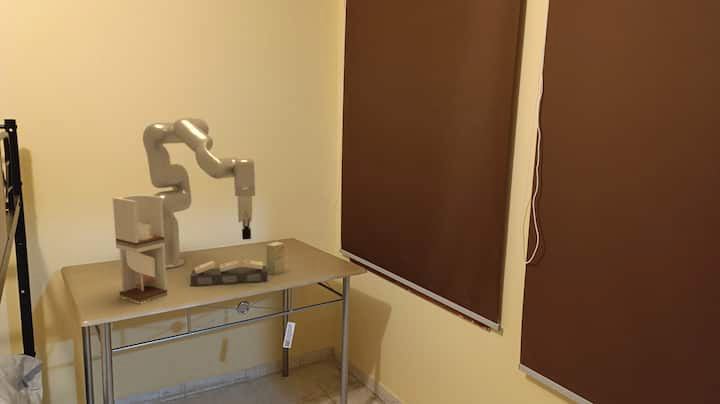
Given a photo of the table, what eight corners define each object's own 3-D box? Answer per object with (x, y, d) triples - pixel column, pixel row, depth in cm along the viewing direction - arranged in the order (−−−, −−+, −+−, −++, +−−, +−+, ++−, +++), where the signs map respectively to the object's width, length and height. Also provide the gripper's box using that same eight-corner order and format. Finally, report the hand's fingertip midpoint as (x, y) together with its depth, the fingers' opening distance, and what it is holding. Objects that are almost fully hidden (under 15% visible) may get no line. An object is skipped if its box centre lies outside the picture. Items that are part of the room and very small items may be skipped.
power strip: (190, 286, 177) (190, 275, 176) (192, 279, 185) (192, 269, 184) (267, 281, 183) (267, 271, 183) (266, 275, 191) (266, 264, 191)
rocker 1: (196, 274, 178) (194, 270, 178) (197, 270, 183) (195, 266, 182) (214, 267, 180) (212, 263, 179) (215, 263, 184) (213, 259, 183)
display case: (119, 297, 165) (112, 198, 159) (147, 288, 174) (141, 194, 168) (139, 304, 159) (133, 201, 154) (167, 294, 168) (162, 197, 162)
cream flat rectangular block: (220, 271, 181) (219, 267, 180) (221, 268, 185) (219, 264, 184) (239, 267, 182) (238, 262, 182) (239, 263, 186) (238, 259, 186)
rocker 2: (244, 266, 182) (244, 262, 182) (243, 263, 187) (244, 259, 186) (262, 269, 184) (263, 265, 184) (261, 266, 188) (262, 261, 188)
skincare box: (274, 275, 191) (274, 246, 189) (266, 273, 194) (265, 244, 192) (284, 271, 197) (284, 242, 195) (276, 269, 199) (276, 241, 197)
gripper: (235, 189, 186) (236, 235, 189) (234, 194, 172) (236, 244, 175) (254, 188, 188) (256, 234, 191) (255, 194, 174) (257, 242, 177)
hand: (246, 238), depth 183 cm, fingers closed
